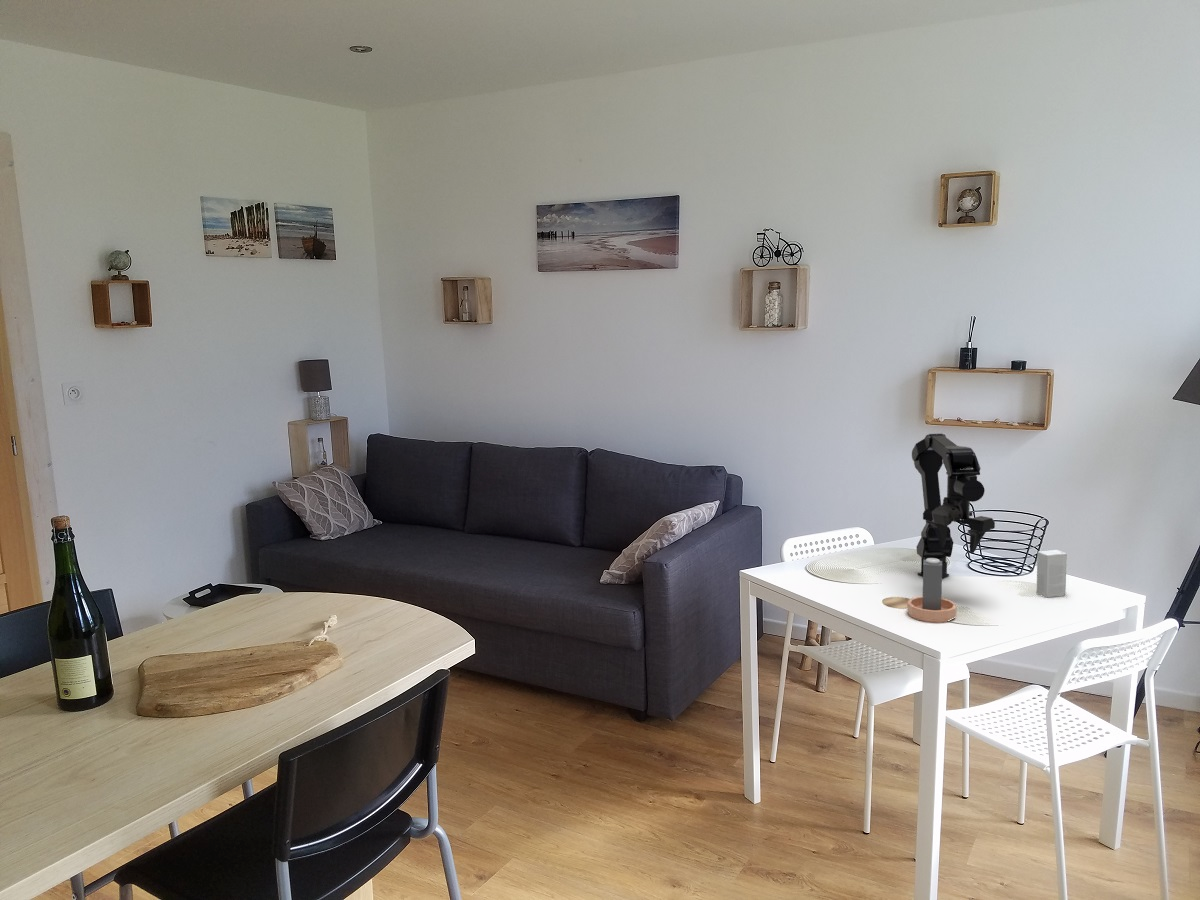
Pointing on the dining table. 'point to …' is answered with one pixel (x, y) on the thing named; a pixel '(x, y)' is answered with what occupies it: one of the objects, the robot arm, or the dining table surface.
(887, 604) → the cork coaster
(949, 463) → the robot arm
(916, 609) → the ring dish
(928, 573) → the canister
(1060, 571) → the skincare box
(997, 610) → the dining table surface
